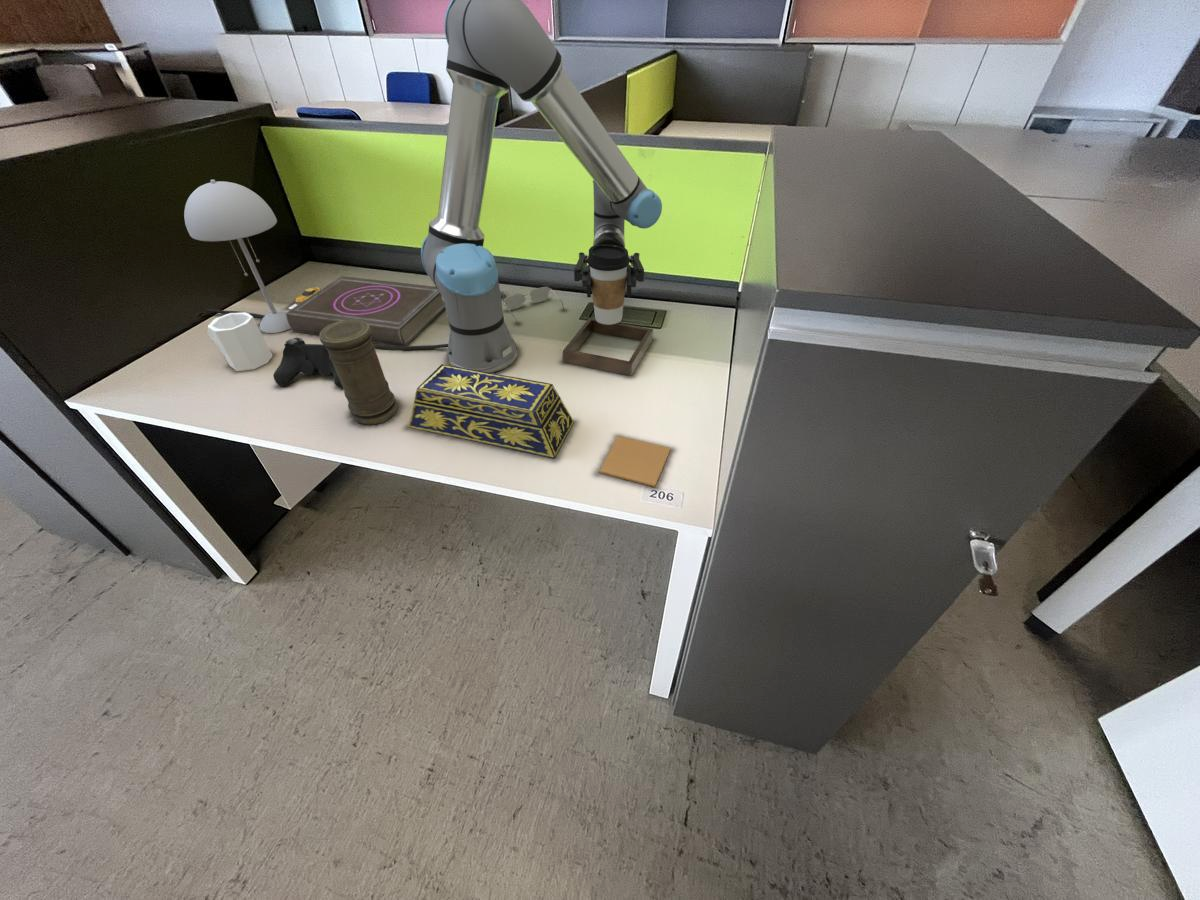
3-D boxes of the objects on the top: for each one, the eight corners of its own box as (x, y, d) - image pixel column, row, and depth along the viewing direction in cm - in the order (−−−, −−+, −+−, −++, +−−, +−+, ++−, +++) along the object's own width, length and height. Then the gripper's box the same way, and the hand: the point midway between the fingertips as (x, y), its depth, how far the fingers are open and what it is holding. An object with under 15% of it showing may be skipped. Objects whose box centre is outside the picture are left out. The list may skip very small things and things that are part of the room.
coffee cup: (588, 310, 116) (586, 242, 106) (625, 308, 117) (627, 240, 107) (590, 328, 110) (588, 258, 100) (630, 326, 111) (632, 256, 101)
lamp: (279, 346, 122) (207, 195, 100) (225, 334, 126) (144, 187, 104) (331, 313, 134) (276, 172, 112) (279, 303, 138) (217, 166, 116)
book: (448, 305, 137) (444, 287, 133) (403, 348, 121) (398, 329, 117) (347, 293, 143) (341, 275, 139) (292, 332, 127) (283, 314, 123)
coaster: (599, 473, 90) (599, 470, 89) (618, 437, 97) (618, 435, 96) (654, 487, 87) (655, 485, 87) (670, 449, 94) (670, 447, 94)
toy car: (292, 305, 137) (289, 297, 135) (314, 291, 143) (311, 283, 141) (305, 307, 136) (302, 299, 134) (327, 293, 142) (323, 285, 140)
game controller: (364, 384, 115) (360, 338, 112) (347, 388, 108) (342, 339, 105) (292, 382, 115) (287, 336, 113) (272, 386, 109) (265, 337, 106)
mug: (280, 353, 120) (261, 314, 113) (252, 373, 113) (230, 333, 107) (237, 346, 122) (216, 307, 115) (208, 366, 116) (183, 326, 109)
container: (384, 427, 99) (353, 345, 87) (342, 422, 101) (306, 340, 89) (406, 400, 106) (380, 319, 94) (366, 395, 107) (336, 315, 95)
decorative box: (554, 458, 92) (551, 419, 86) (408, 427, 99) (396, 388, 93) (575, 422, 100) (573, 383, 94) (438, 395, 107) (428, 357, 101)
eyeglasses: (551, 298, 139) (550, 284, 136) (565, 312, 134) (565, 298, 132) (503, 311, 134) (501, 297, 131) (516, 327, 129) (515, 312, 126)
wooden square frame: (563, 362, 116) (562, 350, 114) (589, 328, 127) (589, 317, 125) (631, 376, 111) (631, 364, 109) (652, 340, 123) (653, 328, 121)
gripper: (651, 264, 124) (658, 308, 107) (566, 263, 124) (559, 308, 107) (653, 231, 119) (661, 273, 102) (564, 231, 119) (557, 272, 102)
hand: (609, 291), depth 104 cm, fingers closed on coffee cup, 7 cm apart
